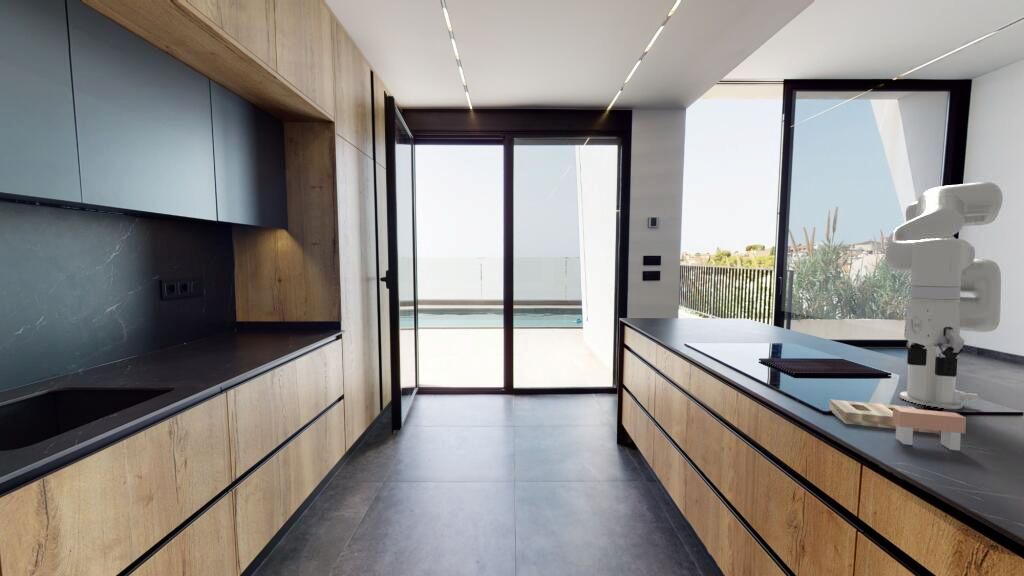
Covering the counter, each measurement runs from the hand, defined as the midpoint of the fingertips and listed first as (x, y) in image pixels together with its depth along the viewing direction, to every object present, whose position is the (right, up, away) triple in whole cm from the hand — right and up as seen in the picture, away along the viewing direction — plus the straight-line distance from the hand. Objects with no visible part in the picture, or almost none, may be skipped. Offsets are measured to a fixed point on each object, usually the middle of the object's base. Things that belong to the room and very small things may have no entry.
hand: (930, 370), depth 86 cm
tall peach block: (0, -17, +1) cm, 17 cm away
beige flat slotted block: (+2, -16, +14) cm, 22 cm away
